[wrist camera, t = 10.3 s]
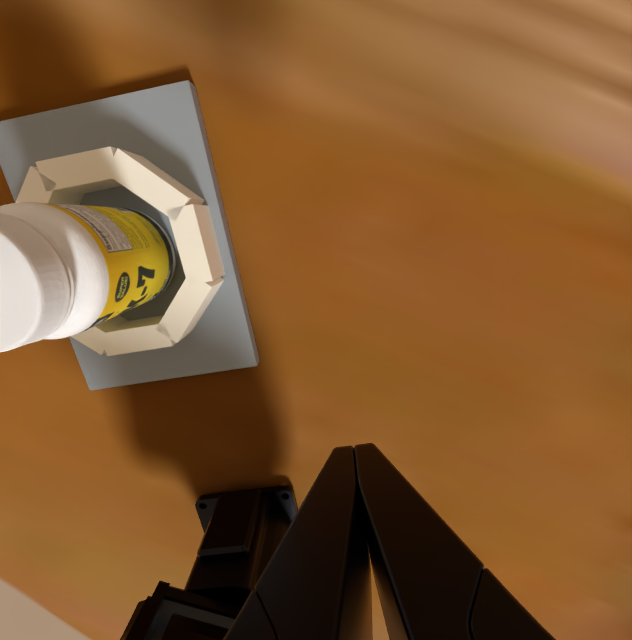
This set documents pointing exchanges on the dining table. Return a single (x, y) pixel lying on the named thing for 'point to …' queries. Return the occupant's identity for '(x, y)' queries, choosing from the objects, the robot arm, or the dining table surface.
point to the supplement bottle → (75, 268)
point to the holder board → (158, 203)
